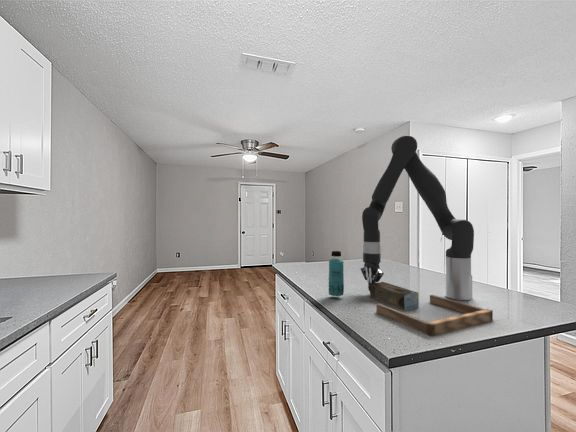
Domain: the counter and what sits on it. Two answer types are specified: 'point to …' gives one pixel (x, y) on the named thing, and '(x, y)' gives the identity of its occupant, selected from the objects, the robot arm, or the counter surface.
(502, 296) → the counter surface
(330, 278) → the beverage bottle
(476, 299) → the counter surface
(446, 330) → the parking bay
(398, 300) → the beverage carton
